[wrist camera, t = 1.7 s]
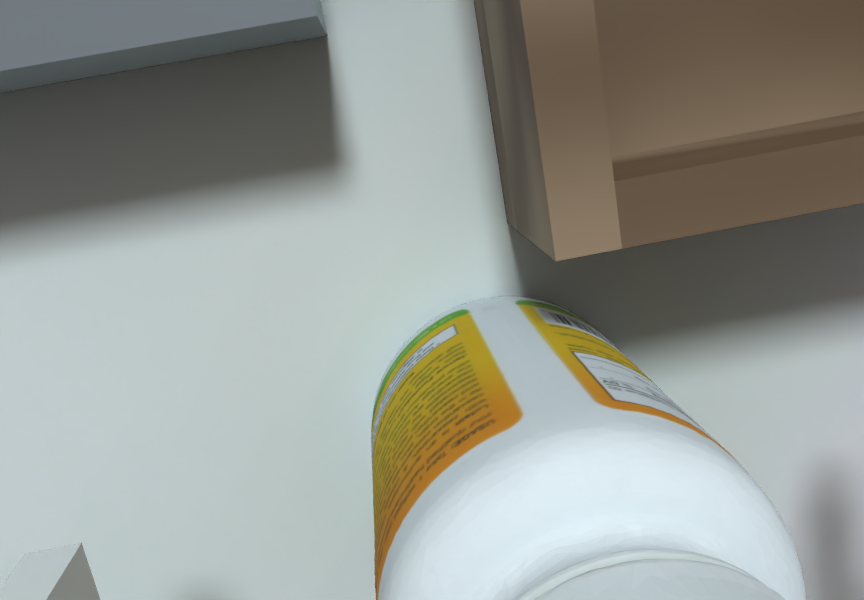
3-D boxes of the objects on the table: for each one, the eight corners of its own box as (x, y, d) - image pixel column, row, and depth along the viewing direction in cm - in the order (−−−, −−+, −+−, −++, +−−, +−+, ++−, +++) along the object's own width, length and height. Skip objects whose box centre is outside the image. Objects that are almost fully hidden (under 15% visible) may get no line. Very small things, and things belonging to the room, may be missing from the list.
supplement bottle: (390, 552, 17) (424, 1102, 8) (352, 311, 16) (337, 619, 6) (635, 512, 17) (961, 996, 8) (617, 273, 16) (985, 510, 7)
